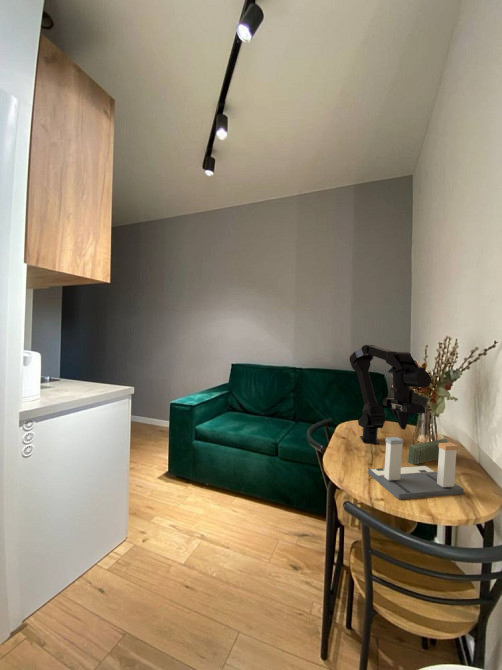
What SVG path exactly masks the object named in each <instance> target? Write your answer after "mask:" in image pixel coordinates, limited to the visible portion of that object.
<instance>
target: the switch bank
mask: <svg viewBox="0 0 502 670" xmlns="http://www.w3.org/2000/svg"><path fill="white" fill-rule="evenodd" d="M384 471H385V467H382V468H381V467H380V468H379V467H378V468H369V469H368V470H367V472H368V475H369V476H370V477H371V478H373V479H374V480H375V481H376V482H378V484H379V485H380V486H382V487H383V488H384V489H386V490H387V491H388V492H389V493H390V494H391V495H393V497H394V498H396V499H397V500H409V499H422V498H431V497H442V496H452V495H453V496H454V495H463V494H464V491H465V490H464V488H463V487H461V486H460V485H458V484H457V483H455V482H454V486H453V487H442V486H440V485H439V484H437V474H438V471H435V470H433V469H432V468H430V467H428V466H427V465H411V466H401V474H400V480H387V479H386V478H385V477H384Z"/></svg>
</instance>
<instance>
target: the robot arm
mask: <svg viewBox="0 0 502 670" xmlns="http://www.w3.org/2000/svg"><path fill="white" fill-rule="evenodd" d="M374 357H375V358H378V359H381V360H383V361H385V363H386V364H387V365H389V366H391V368H390V369H388V371H387V372H388V373H390V374H392V375H391V376H392V377H391V378H392V387H390V391H391V392H392V397H384V398H383V399H382V405H383V406H385V407H388V406H391V407H390V408H389V410H390V411H391V413H392V415H393V416H394V417H395V420H396V421H397V424H398V425H399V427H400V429H401V430H406V429H407V425H408V422H409V420H410V417H411V415H413V414H427V404H428V402H429V398H428V397H425V396H422V395H420V394H419V393H416V392H415V390H414V389H413V388H411V387H414V388H421V389H422V388H423V389H426V388H428V387H429V386H430V385H431V384H432V378H431V375H430V373H428V371H426V367H419V365H418V364H417V363H416V361H415V360H414V358H413V356H412V354H411V353H410V352H409V351H394V350H389V349H385V348H384V347H383V348H382V347H379V346H377V345H373V344H365V345H362V347H361V348H359V349H357V350H355V351H353V353H352V354H351V355H349V362H350V365H351V368H352V369H353V371H355V372H356V373H357V374H356V376H357V379H358V382H359V386H360V387H359V388H360V391H361V395H362V399H363V400H362V401H363V408H362V410H361V413H362V415H361V416H360V417H359V418H358V419H357V423H358V426H359V427H361V428H362V435H360V436H359V438H360V440H361V441H362V443H364V444H373V445H380V443H381V442H379V440H378V429H383V427H384V426H385V425H384V424H385V422H386V416H387V415H386V413H385V409H384V407H383V406H382V405H379V404H378V402H377V399H376V395H375V390H374V387H373V383H372V380H371V376H370V373H369V372H370V369H371V368H370V367H371V365H372V364H371V361H372V360H374Z"/></svg>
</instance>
